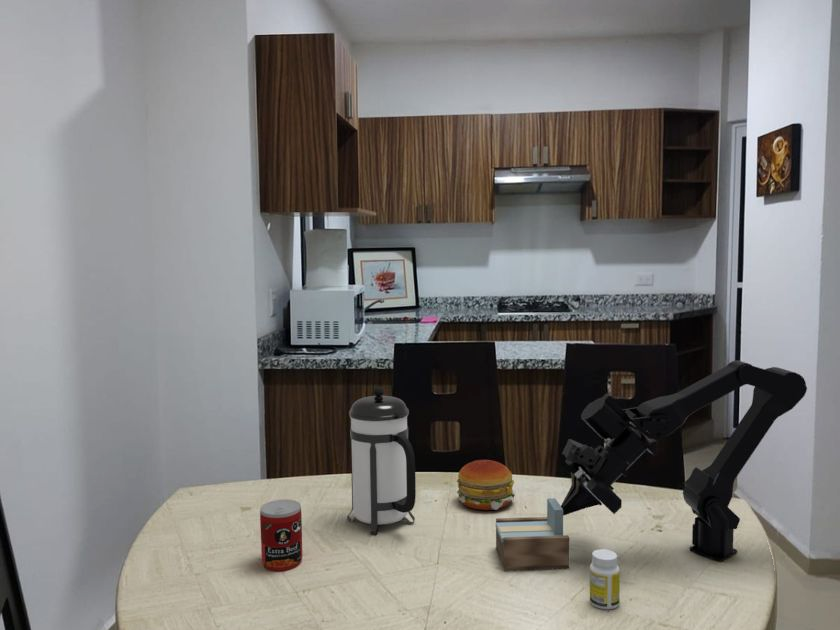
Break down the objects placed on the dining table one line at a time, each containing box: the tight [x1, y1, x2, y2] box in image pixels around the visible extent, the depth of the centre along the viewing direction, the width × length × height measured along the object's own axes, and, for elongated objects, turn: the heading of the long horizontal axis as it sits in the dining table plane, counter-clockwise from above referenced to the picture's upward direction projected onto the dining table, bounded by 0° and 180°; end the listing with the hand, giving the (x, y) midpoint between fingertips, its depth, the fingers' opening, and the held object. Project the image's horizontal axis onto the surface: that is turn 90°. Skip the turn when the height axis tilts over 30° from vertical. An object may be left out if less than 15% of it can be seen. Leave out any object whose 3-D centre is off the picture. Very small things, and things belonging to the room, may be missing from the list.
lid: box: [495, 497, 564, 543], centre depth 130 cm, size 12×7×6 cm, turn 93°
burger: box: [456, 459, 516, 511], centre depth 160 cm, size 13×14×10 cm
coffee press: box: [346, 386, 417, 536], centre depth 147 cm, size 17×16×30 cm
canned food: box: [259, 498, 304, 572], centre depth 130 cm, size 8×8×11 cm
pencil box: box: [495, 516, 570, 572], centre depth 131 cm, size 12×10×6 cm
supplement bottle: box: [589, 548, 621, 610], centre depth 114 cm, size 5×5×8 cm
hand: (560, 513), depth 130 cm, fingers closed, pressing on lid
